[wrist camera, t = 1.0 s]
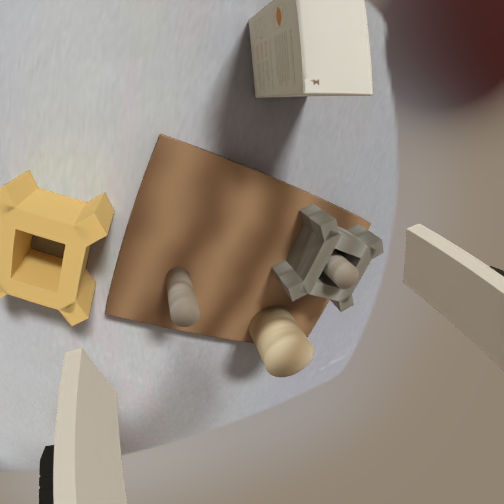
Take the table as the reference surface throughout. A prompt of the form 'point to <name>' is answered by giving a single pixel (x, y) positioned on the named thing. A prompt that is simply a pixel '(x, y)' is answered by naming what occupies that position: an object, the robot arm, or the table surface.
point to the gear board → (236, 255)
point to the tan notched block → (53, 228)
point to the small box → (311, 49)
